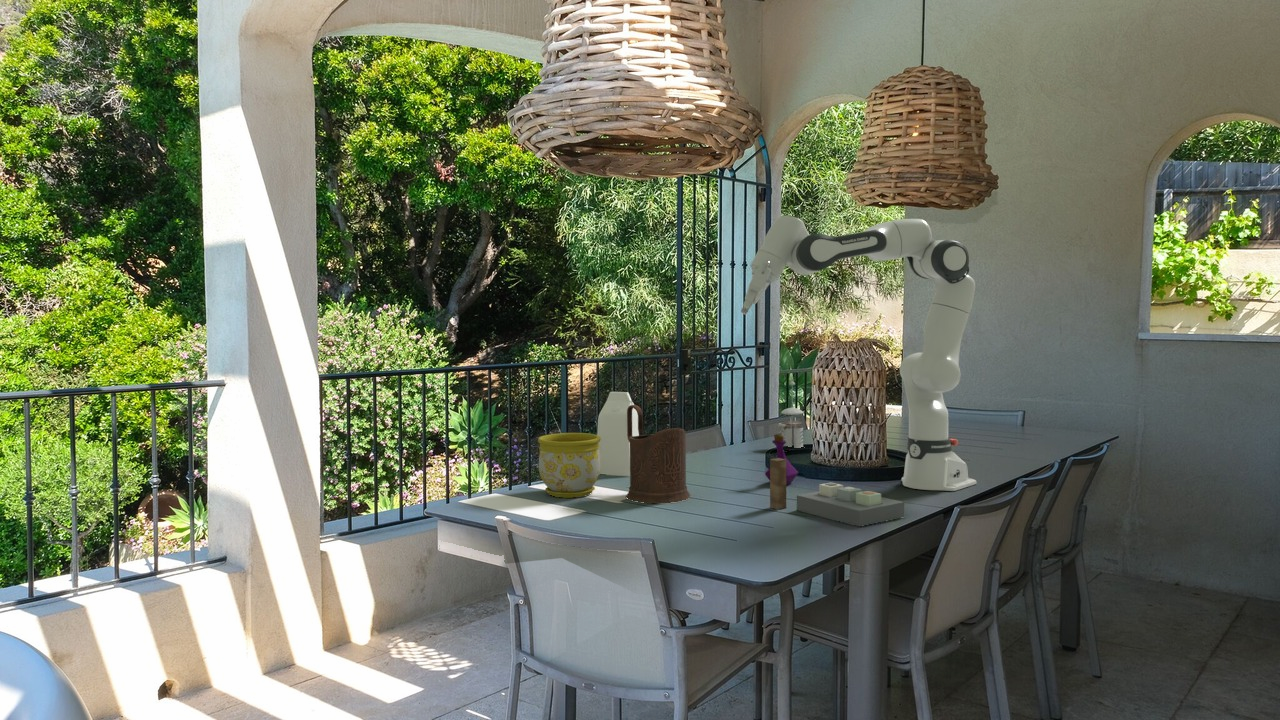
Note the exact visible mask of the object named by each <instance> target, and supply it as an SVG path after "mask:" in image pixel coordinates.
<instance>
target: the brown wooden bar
mask: <svg viewBox="0 0 1280 720" xmlns="http://www.w3.org/2000/svg"><path fill="white" fill-rule="evenodd" d="M769 468H770V480H769V507H770V509H775V510H783V509H787V485H786V460H785V459H781V458H777V457H776V458H770V459H769Z"/></svg>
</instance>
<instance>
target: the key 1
mask: <svg viewBox="0 0 1280 720" xmlns="http://www.w3.org/2000/svg"><path fill="white" fill-rule="evenodd" d="M838 488H844V485H843V484H840V483H835V482H827V483H821V484H818V491H819V494H820V495H824V496H828V497H835V496H837V489H838Z"/></svg>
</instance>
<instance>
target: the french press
mask: <svg viewBox="0 0 1280 720" xmlns="http://www.w3.org/2000/svg"><path fill="white" fill-rule="evenodd" d="M789 385H790V386H791V407H789V408H788V407H787V408H785V409H783V410H781V412H780V413H781V415H787V416H791V417H790V419H789V420H790V421H783V422H781V424H785V425H787V429H786V430H784V429H782V430H781V431H780V432H781V434H780V435H782V436H784V440H785V441H786V443H785V444H784V446H788V447H792V445H794V448H801V447H804V442H803V441H804V439H803V438H804V436H803V435H804V432H803V431H804V427H803V426H801V425H803V423H802V422H801V421H797V419H796V416H795V415H803V414H804V412H803V410H801V409H799V408H796V407H793V403H794V401H793V393H794V392H793V390H794V389H793V386H794V385H796V382H794V381H790V382H789ZM793 415H794V416H795V417H794V419H793Z"/></svg>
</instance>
